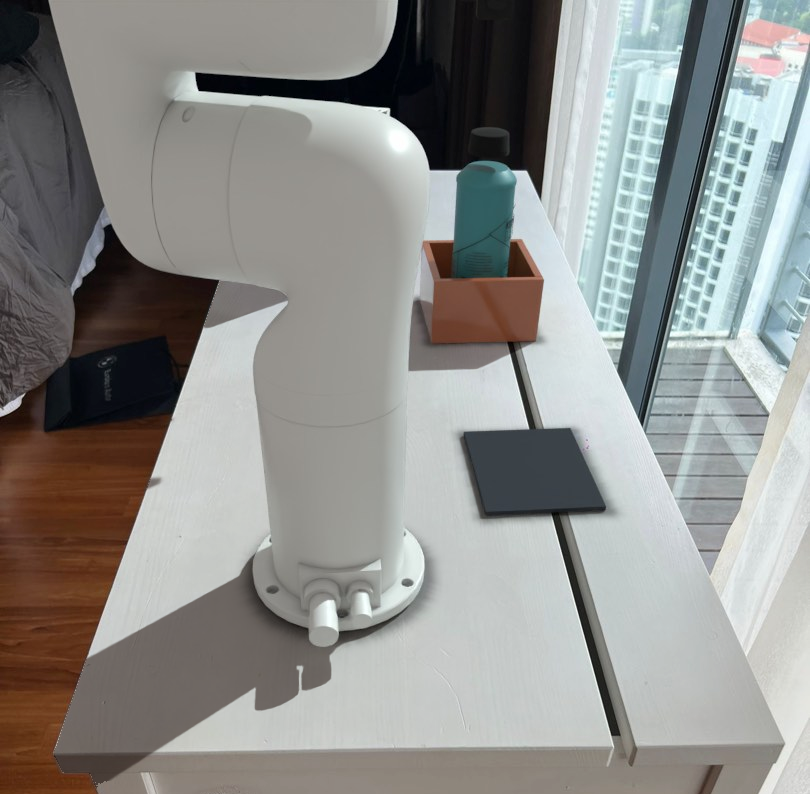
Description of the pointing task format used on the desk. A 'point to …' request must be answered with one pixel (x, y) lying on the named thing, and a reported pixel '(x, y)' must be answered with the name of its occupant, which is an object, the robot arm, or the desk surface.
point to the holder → (479, 298)
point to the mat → (531, 472)
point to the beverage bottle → (484, 209)
